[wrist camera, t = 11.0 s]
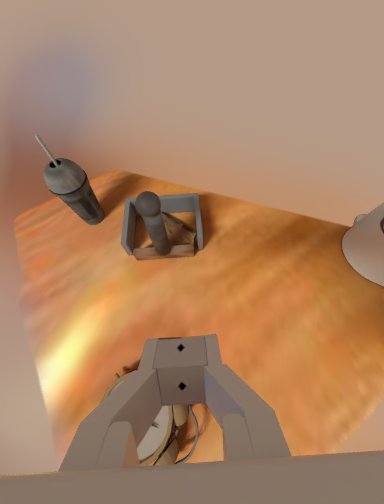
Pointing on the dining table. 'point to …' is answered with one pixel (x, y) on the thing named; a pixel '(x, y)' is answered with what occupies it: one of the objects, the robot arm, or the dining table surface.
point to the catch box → (167, 206)
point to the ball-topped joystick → (157, 231)
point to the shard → (178, 232)
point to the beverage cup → (72, 187)
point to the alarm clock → (161, 432)
